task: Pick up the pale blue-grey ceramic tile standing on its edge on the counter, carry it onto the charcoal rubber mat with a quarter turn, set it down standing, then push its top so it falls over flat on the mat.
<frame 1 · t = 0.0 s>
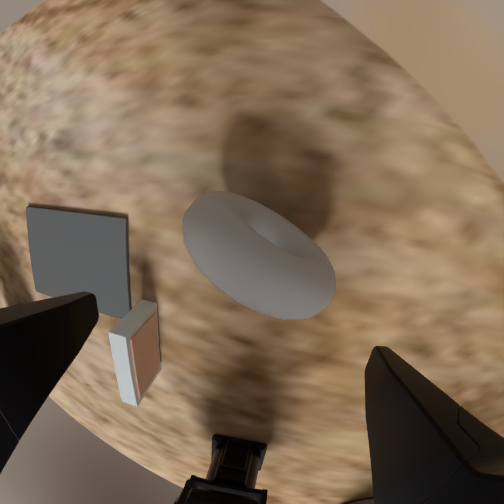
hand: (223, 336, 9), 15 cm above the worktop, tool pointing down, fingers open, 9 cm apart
mat: (73, 259, 26), on the worktop
donut: (270, 230, 23), on the worktop
tile: (151, 336, 27), on the worktop
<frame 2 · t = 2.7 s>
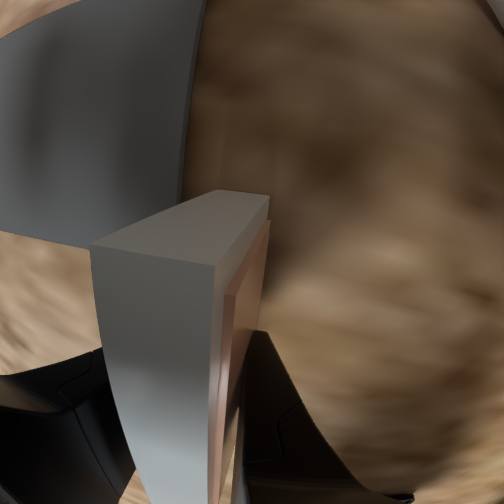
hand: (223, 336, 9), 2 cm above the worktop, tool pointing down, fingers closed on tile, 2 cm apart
mat: (38, 118, 9), on the worktop
tile: (231, 311, 10), on the worktop, touching gripper
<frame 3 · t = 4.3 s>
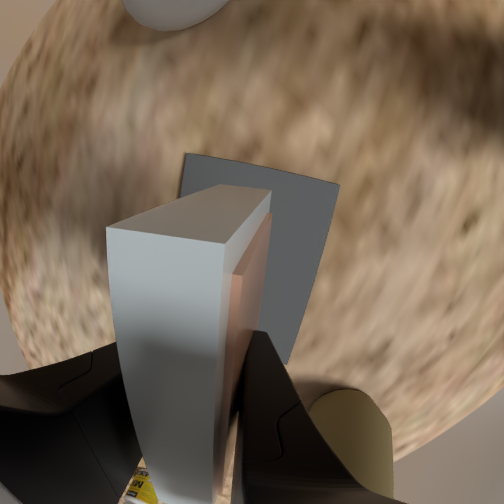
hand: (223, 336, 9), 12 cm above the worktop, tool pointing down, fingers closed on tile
supplement bottle: (153, 475, 35), on the worktop
mat: (241, 267, 21), on the worktop
squeeze bottle: (341, 408, 24), on the worktop
tile: (234, 303, 10), point 10 cm above the worktop, touching gripper
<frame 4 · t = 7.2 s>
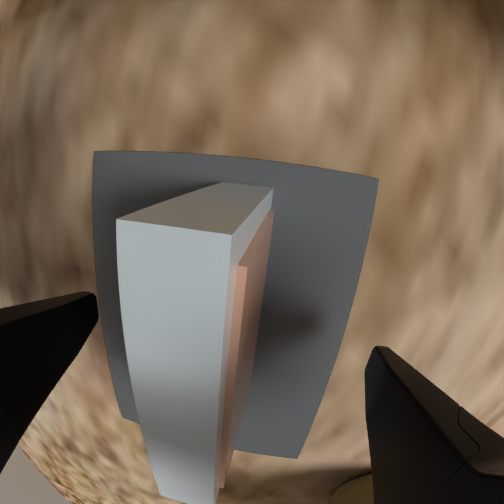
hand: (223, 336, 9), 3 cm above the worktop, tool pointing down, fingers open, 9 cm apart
mat: (209, 338, 12), on the worktop
squeeze bottle: (374, 485, 14), on the worktop
tile: (236, 299, 11), resting on mat
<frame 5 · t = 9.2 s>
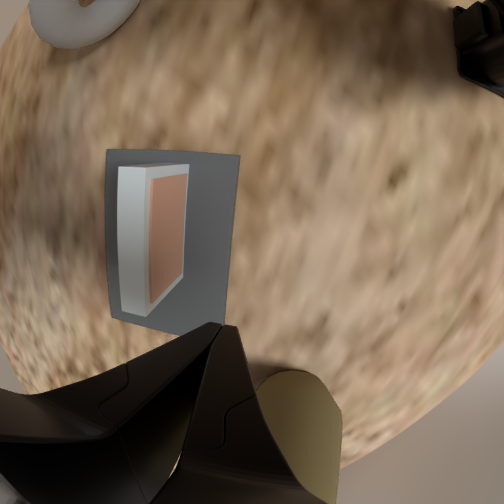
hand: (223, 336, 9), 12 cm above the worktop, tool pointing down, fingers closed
mat: (163, 248, 21), on the worktop
donut: (129, 10, 16), on the worktop
squeeze bottle: (293, 392, 24), on the worktop
tile: (174, 221, 20), resting on mat
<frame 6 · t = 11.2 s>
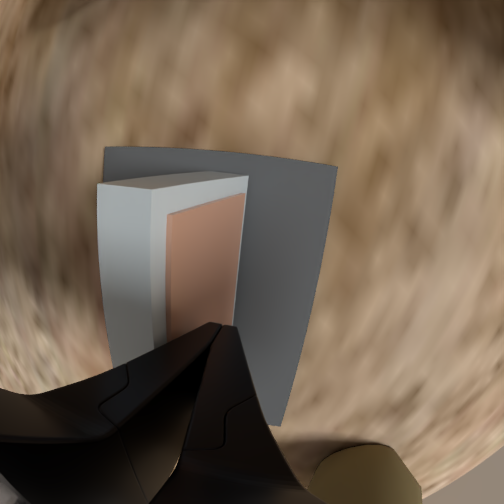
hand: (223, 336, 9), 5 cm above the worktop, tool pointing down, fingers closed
mat: (199, 305, 14), on the worktop
squeeze bottle: (357, 462, 16), on the worktop
tile: (219, 270, 13), point 1 cm above the worktop, tilted 9°, touching mat
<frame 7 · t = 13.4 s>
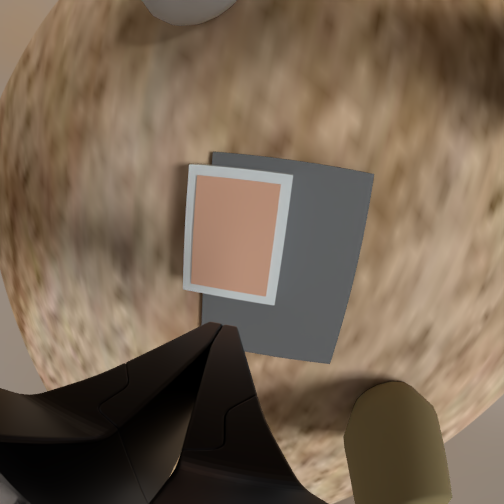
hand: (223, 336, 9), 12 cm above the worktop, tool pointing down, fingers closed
mat: (279, 267, 20), on the worktop
squeeze bottle: (384, 401, 22), on the worktop
tile: (284, 240, 18), point 1 cm above the worktop, tilted 90°, touching mat
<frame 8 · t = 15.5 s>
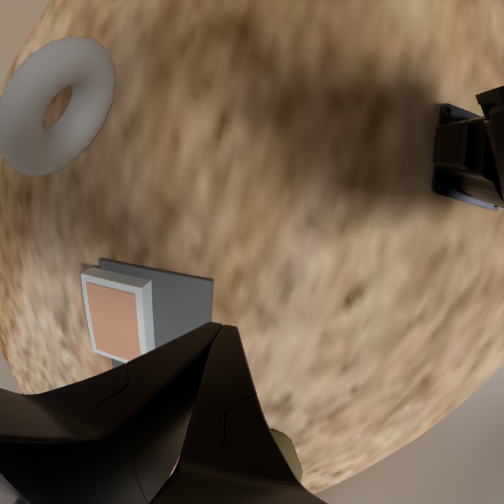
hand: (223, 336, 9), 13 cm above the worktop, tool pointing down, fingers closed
mat: (155, 341, 25), on the worktop
donut: (102, 112, 20), on the worktop
squeeze bottle: (266, 442, 27), on the worktop
tile: (149, 328, 23), point 1 cm above the worktop, tilted 90°, touching mat
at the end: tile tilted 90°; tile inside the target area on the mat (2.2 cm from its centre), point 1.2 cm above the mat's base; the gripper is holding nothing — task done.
